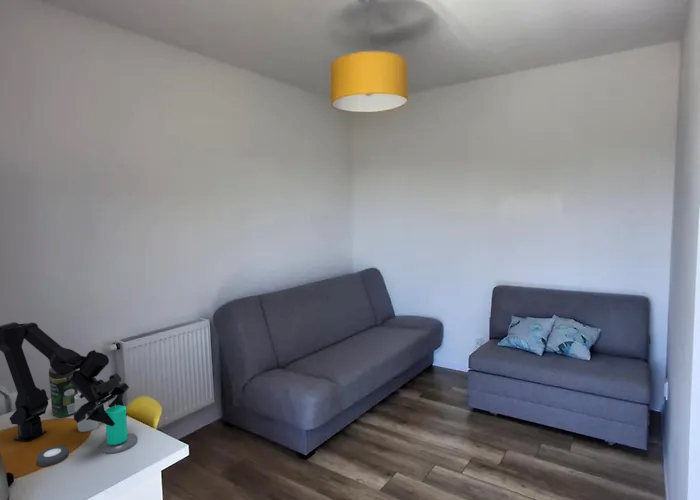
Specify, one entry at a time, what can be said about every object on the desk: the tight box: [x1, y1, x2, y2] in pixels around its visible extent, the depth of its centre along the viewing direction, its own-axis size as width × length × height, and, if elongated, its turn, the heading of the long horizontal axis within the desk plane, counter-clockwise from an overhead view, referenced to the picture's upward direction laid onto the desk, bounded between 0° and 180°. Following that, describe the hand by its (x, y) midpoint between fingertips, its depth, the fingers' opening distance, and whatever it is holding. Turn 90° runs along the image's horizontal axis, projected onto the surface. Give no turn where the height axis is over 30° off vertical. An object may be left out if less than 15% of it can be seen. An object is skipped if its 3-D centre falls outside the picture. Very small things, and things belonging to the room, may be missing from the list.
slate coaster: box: [98, 432, 138, 455], centre depth 140 cm, size 11×11×1 cm
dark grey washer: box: [35, 445, 69, 468], centre depth 132 cm, size 8×8×2 cm
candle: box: [105, 404, 128, 445], centre depth 139 cm, size 6×6×12 cm
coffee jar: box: [48, 366, 79, 418], centre depth 163 cm, size 10×8×19 cm
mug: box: [74, 392, 109, 433], centre depth 152 cm, size 10×7×12 cm, turn 128°
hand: (120, 420), depth 139 cm, fingers closed on candle, 5 cm apart
